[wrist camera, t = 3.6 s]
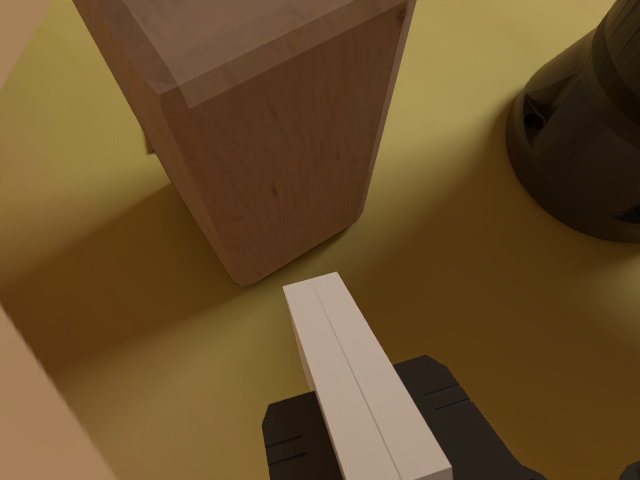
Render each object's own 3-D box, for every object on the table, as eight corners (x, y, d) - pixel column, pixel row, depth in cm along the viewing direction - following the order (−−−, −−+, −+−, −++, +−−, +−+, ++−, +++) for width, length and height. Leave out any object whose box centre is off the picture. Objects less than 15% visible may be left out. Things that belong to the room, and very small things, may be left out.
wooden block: (366, 220, 34) (440, -41, 15) (241, 296, 31) (147, 102, 13) (289, 118, 37) (272, -205, 18) (170, 182, 34) (9, -113, 16)
